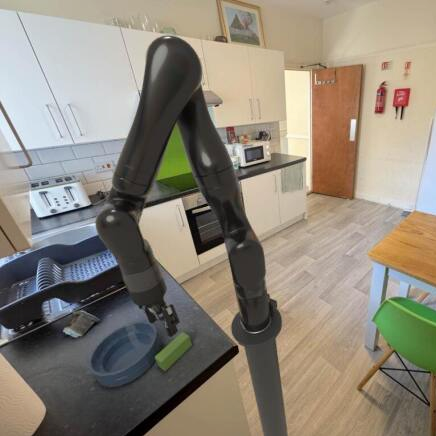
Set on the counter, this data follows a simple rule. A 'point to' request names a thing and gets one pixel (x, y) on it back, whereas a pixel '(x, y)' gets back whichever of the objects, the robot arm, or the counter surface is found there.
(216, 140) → the robot arm
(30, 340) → the counter surface
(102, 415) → the counter surface
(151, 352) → the bowl
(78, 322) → the crumpled grey bag
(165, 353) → the bar
